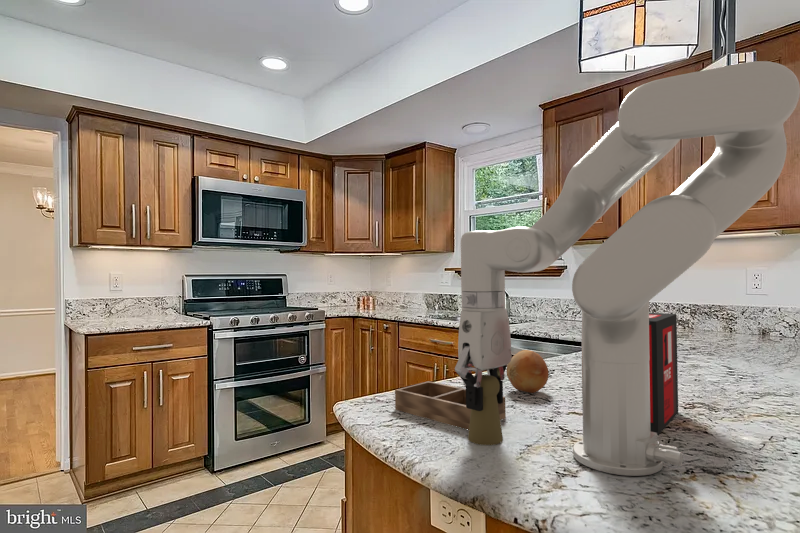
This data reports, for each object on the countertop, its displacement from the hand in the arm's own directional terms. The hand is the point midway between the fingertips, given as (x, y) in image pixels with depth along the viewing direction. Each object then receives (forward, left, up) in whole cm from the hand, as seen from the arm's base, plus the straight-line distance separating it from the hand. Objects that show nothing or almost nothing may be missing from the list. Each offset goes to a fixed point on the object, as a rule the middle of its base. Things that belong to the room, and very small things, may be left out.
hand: (484, 404), depth 84 cm
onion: (+11, -33, -6) cm, 35 cm away
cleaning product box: (-16, -30, -6) cm, 35 cm away
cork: (0, 0, -6) cm, 6 cm away
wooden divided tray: (+14, -7, -6) cm, 17 cm away
